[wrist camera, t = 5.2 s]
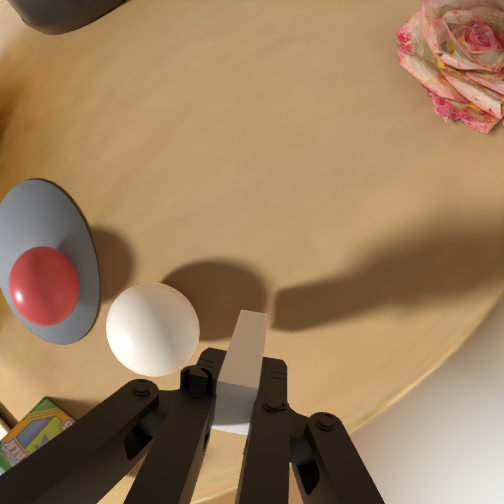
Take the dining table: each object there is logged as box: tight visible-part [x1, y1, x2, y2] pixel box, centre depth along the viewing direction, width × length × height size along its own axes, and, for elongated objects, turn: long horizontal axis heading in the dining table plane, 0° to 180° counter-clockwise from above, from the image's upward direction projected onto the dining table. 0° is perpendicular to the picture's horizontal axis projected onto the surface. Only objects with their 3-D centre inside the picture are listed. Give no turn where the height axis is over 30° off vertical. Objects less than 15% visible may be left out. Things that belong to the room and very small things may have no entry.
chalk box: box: [0, 397, 76, 475], centre depth 17 cm, size 9×9×15 cm
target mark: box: [0, 179, 100, 345], centre depth 19 cm, size 14×14×1 cm
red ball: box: [9, 246, 80, 326], centre depth 16 cm, size 6×6×6 cm
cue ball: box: [106, 282, 200, 377], centre depth 16 cm, size 6×6×6 cm
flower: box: [396, 0, 504, 134], centre depth 10 cm, size 10×9×8 cm
